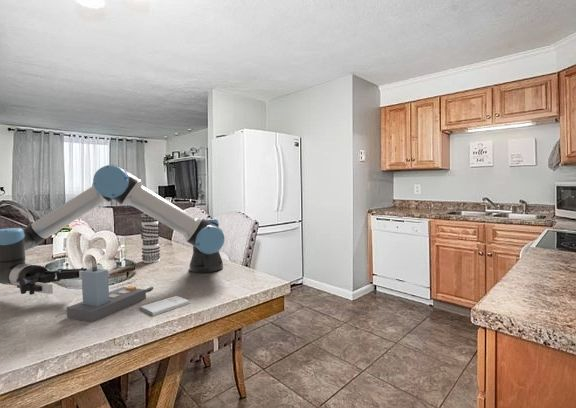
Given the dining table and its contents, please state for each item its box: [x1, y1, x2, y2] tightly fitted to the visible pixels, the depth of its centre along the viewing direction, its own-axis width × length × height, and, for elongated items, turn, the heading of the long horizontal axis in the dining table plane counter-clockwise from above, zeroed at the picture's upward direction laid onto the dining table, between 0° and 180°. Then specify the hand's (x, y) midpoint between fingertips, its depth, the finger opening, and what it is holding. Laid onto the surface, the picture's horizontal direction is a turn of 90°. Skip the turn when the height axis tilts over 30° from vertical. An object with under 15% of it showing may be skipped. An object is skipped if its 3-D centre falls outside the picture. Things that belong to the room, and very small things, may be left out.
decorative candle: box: [139, 212, 161, 264], centre depth 161 cm, size 9×9×25 cm
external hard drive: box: [139, 295, 190, 317], centre depth 101 cm, size 2×8×12 cm
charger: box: [81, 265, 110, 307], centre depth 95 cm, size 4×6×12 cm, turn 70°
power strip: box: [66, 285, 154, 323], centre depth 104 cm, size 28×10×4 cm, turn 160°
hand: (73, 282), depth 99 cm, fingers open, 13 cm apart
